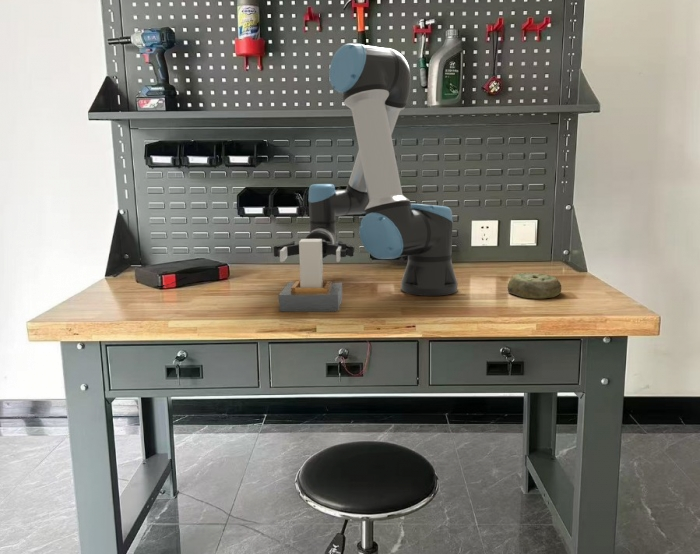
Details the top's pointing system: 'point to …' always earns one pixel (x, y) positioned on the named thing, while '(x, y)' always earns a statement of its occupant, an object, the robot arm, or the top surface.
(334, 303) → the jig plate
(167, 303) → the top surface
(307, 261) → the column
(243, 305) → the top surface
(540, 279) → the weight
